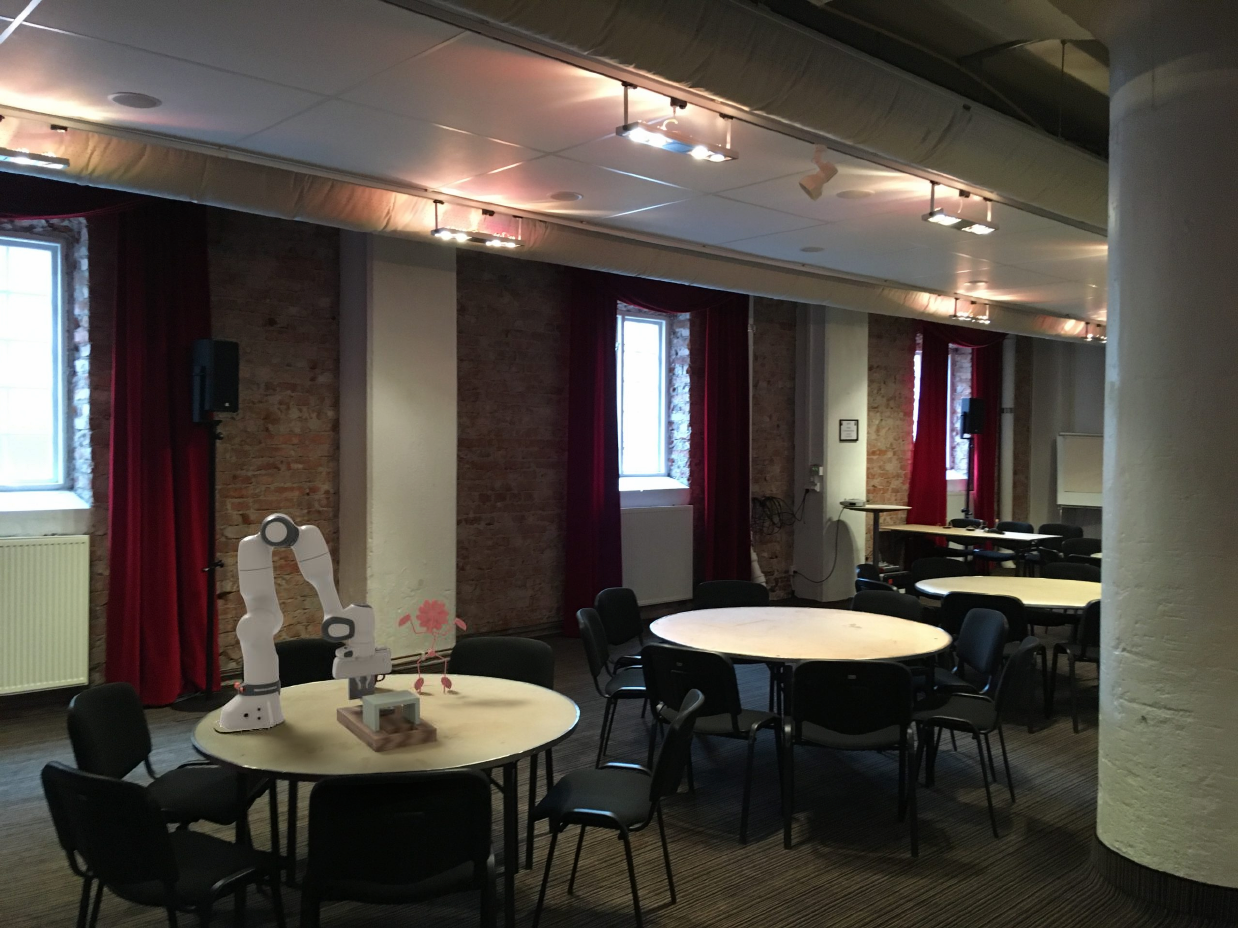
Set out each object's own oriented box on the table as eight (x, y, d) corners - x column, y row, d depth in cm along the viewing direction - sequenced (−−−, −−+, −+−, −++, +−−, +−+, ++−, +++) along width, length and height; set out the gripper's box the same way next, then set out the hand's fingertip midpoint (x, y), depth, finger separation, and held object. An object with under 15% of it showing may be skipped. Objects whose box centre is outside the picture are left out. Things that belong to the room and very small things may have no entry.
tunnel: (374, 731, 305) (374, 704, 305) (362, 722, 315) (362, 696, 315) (420, 723, 313) (419, 697, 313) (407, 714, 323) (406, 689, 323)
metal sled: (368, 717, 320) (368, 687, 319) (348, 702, 339) (347, 673, 338) (395, 712, 325) (394, 683, 324) (373, 698, 344) (373, 670, 343)
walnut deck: (375, 751, 297) (375, 738, 297) (336, 720, 332) (336, 708, 332) (436, 740, 308) (436, 728, 308) (393, 710, 342) (393, 699, 342)
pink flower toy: (466, 693, 365) (465, 600, 365) (397, 696, 363) (396, 603, 363) (468, 684, 381) (467, 595, 381) (401, 686, 378) (400, 597, 378)
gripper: (388, 644, 347) (388, 682, 347) (330, 650, 336) (331, 690, 336) (394, 647, 341) (394, 686, 342) (336, 654, 330) (336, 694, 331)
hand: (362, 688), depth 339 cm, fingers closed
